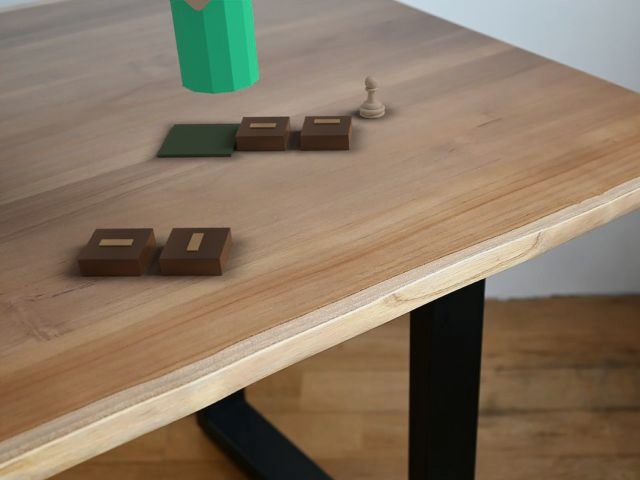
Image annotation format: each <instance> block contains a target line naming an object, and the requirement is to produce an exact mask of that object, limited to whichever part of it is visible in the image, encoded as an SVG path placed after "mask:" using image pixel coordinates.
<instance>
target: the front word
mask: <svg viewBox="0 0 640 480" xmlns="http://www.w3.org/2000/svg"><path fill="white" fill-rule="evenodd" d="M233 243H234V242H233V236H232V229H231V227H229V226H228V227H227V226H226V227H223V226H221V227H172V228H171V230H170V233H169V235H168V237H167V240H166V242H165V244H164V246H163V248H162V251H161V253H160V255H159V257H158V263H159V268H160V272H161V276H162V277H177V276H178V277H179V276H182V277H188V276H189V277H190V276H191V277H192V276H193V277H195V276H223V273H224V271H225V268H226V265H227V262H228V259H229V256H230V253H231V250H232V247H233ZM156 246H157V241H156V235H155V230H154V227H140V228H139V227H132V228H131V227H129V228H128V227H127V228H126V227H125V228H124V227H121V228H95V230H94V231H93V233H92V234H91V236H90V238H89V240H88V241H87V244H86V245H85V246H84V248H83V250H82V251H81V253H80V254H79V257H78V258H77V263H78V267H79V271H80V274H81V277H141V276H143V273H144V271H145V269H146V267H147V265H148V263H149V261H150V258H151V257H152V254H153V253H154V251H155V248H156Z"/></svg>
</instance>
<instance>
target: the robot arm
mask: <svg viewBox="0 0 640 480" xmlns="http://www.w3.org/2000/svg"><path fill="white" fill-rule="evenodd" d="M184 1H185V2H187V3H188V4H189V5H190V6H191V7H192V8H193V9H195V10H197V11H199V10H202V9H203V8H204V7H205V6H206V5H207V4H208V3H209V1H210V0H184Z"/></svg>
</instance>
